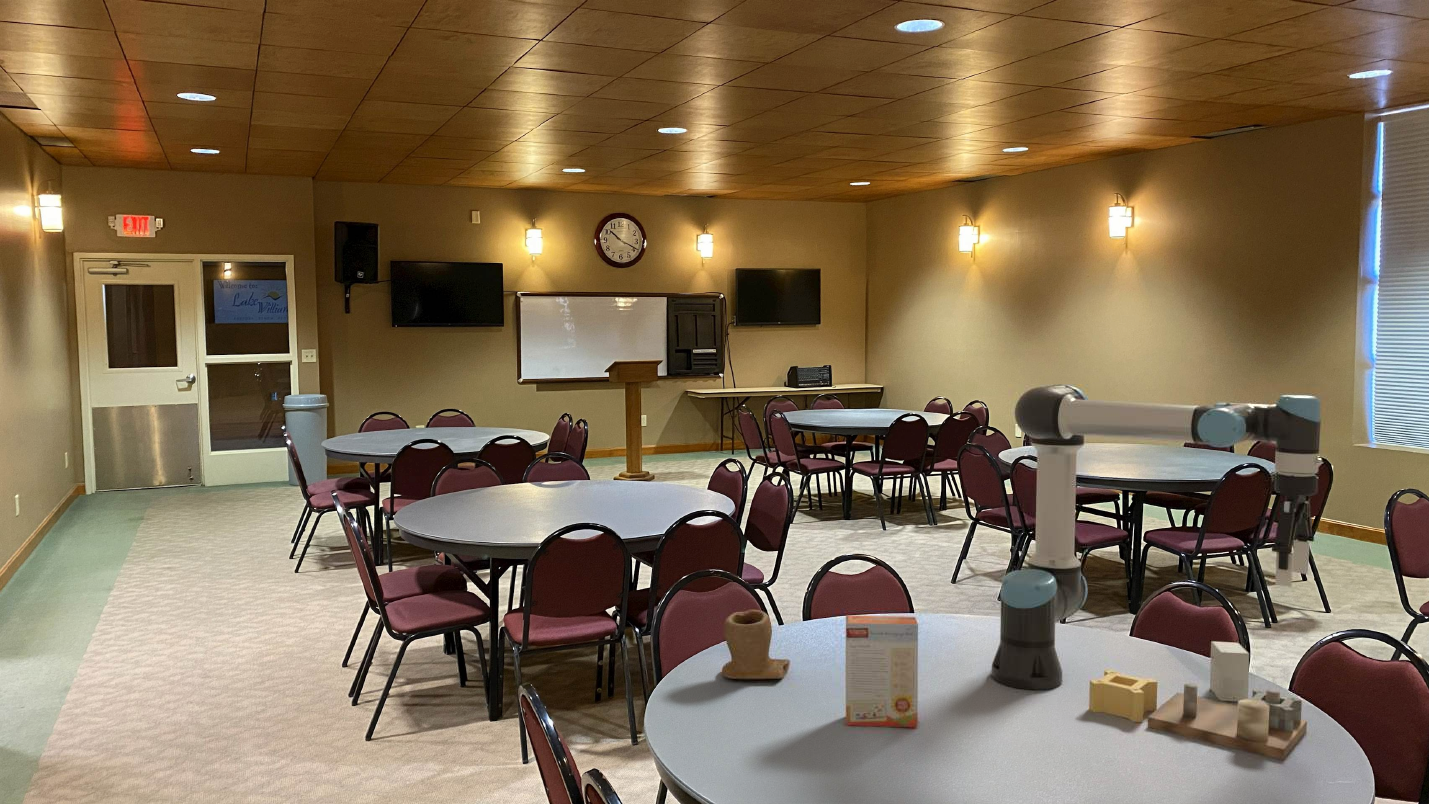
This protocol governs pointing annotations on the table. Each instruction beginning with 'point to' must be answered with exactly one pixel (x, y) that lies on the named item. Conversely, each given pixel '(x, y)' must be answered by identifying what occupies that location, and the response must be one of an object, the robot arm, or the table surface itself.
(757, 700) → the table surface
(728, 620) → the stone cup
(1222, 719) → the board
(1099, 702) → the tan notched block
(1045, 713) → the table surface
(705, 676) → the table surface
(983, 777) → the table surface
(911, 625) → the cracker box
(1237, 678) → the small box
